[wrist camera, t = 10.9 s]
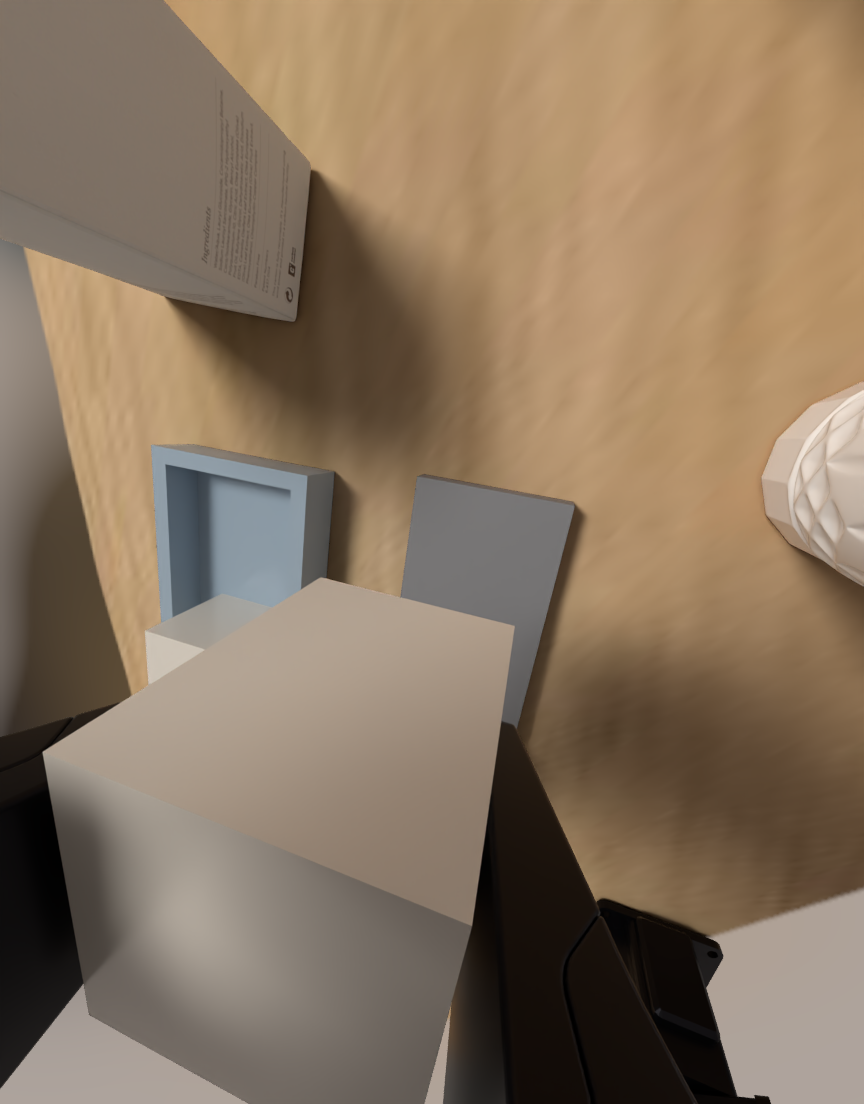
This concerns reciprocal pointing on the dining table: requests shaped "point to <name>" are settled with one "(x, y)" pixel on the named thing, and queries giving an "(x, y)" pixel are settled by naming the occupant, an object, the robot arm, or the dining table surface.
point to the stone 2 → (289, 845)
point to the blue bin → (237, 526)
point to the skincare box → (145, 157)
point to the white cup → (822, 482)
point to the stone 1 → (195, 632)
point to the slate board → (488, 562)
